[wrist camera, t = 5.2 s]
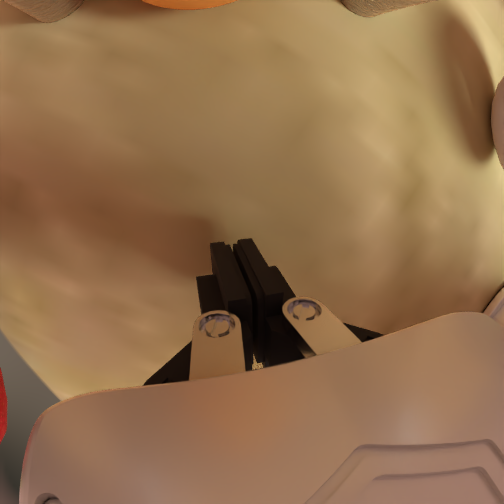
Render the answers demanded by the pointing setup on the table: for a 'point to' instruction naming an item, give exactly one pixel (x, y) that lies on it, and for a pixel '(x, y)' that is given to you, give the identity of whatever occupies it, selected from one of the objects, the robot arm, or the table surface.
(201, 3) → the ball
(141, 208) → the table surface
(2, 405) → the strawberry
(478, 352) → the robot arm
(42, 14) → the post
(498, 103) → the donut
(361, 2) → the post
